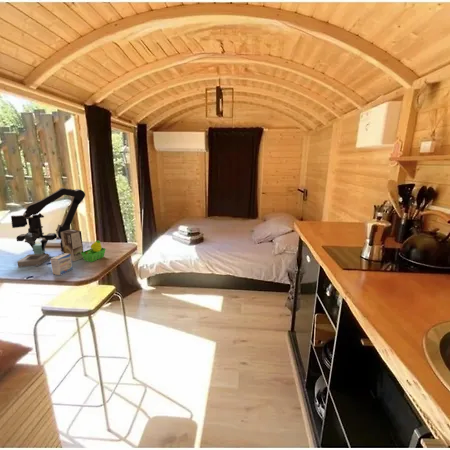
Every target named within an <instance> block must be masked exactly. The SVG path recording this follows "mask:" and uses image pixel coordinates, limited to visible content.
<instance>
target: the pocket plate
mask: <svg viewBox="0 0 450 450" xmlns="http://www.w3.org/2000/svg"><path fill="white" fill-rule="evenodd" d="M49 259H50V254H49V253H43V254H34V253H32V254H31V253H30V254H29V253H28V254H27V255H26V256H24V257H23V258H21V259H19V260H18V261H17V266H18V267H31V266H41V265H42V264H44V263H45V262H46V261H47V260H49Z"/></svg>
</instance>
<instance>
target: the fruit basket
mask: <svg viewBox="0 0 450 450" xmlns="http://www.w3.org/2000/svg"><path fill="white" fill-rule="evenodd" d="M106 250H107V248H104V247H102V244H101V240H96V241H95V242H93V243H92V244H91V245H90V249H87V250H83V252H81V254H82V256H83V258H82V259H83V260H84V262H90V263H93V262H96V261H97V259H98V260H100V259H102V258H104V257H105V253H106Z"/></svg>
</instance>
